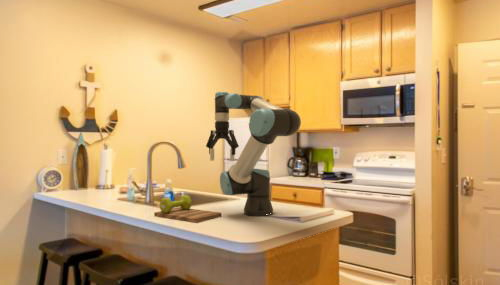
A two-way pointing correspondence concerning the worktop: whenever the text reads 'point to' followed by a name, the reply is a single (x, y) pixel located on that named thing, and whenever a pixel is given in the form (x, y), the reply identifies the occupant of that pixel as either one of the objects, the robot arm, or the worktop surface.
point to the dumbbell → (175, 203)
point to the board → (188, 215)
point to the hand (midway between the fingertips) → (221, 160)
